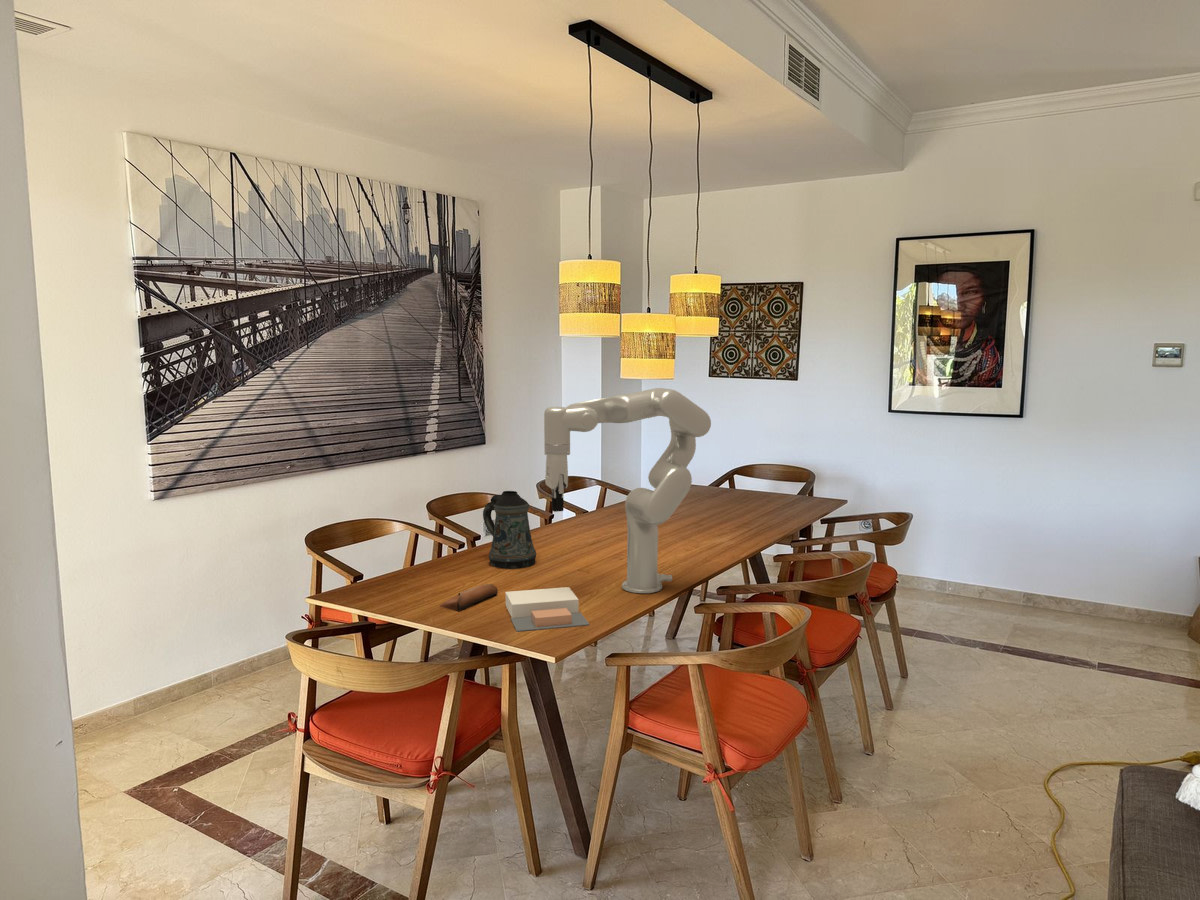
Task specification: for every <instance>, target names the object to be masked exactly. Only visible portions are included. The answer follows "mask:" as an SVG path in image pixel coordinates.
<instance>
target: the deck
mask: <svg viewBox="0 0 1200 900" xmlns="http://www.w3.org/2000/svg"><path fill="white" fill-rule="evenodd" d="M579 600H580V599H579V598H578V597H577V596H576V594H575V593H574V591H572V589H571V588H570V587H569V586H568V587H566V586H565V587H553V588H540V589H539V588H538V589H537V588H536V589H525V590H524V589H523V590H514V591H513V590H512V591H505V607H506V609H507V610H508V613H509V615H510V616H511V618H520V617H531V611H537V610H549V609H560V608H567V609H568V611H569V612H570V613H579V602H580V601H579Z"/></svg>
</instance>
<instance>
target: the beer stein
mask: <svg viewBox="0 0 1200 900" xmlns="http://www.w3.org/2000/svg"><path fill="white" fill-rule="evenodd" d="M529 510H530V503H529V502H528V501H527V500H526V499H524V498H523V497H521V496H520V494H518V491H515V490H503V491H502V493H501V494H495V495H493V496H492V497H491V499H490V501H489V502H487V503H486V504H485V505H484V508H483V511H482V517H483V522H484V525H485V527H486V529H487V530H488V532H489V533H490V535H491V536H492V541H491V547H490V549H489V553H488V559H489V564H490V566H492V567H493V568H496V569H504V570H517V569H518V570H520V569H526V568H530V567H533V566H534V565H535V564H536V558H537V557H536V556H537V552H536V549H535V546H534V543H533V539H532V534H531V528H530V523H529V515H528V512H529ZM492 511H494V512H495V519H494V521H493V519H492Z"/></svg>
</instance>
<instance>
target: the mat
mask: <svg viewBox="0 0 1200 900" xmlns="http://www.w3.org/2000/svg"><path fill="white" fill-rule="evenodd" d="M571 615H572V624H564V625H553V626H542V627H535V625H534V623H533V622H532V620H531V617H520V618H512V617H511V618H510V621H511V623H512V624H513V626H514V628H515V631H516V632H518V633H519V632H520V633H521V632H529V631H538V630H539V631H541V630H542V631H543V630H550V629H551V630H553V629H562V628H572V627H573V628H574V627H584V626H587V627H588V626H591V625H590V623H589V620H587V618H586V617H585V616H584V615H583V614H582V612H579V611H578V613H571Z"/></svg>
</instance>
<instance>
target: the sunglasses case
mask: <svg viewBox="0 0 1200 900" xmlns="http://www.w3.org/2000/svg"><path fill="white" fill-rule="evenodd" d="M498 593H499V591H498V587H497V586H496V585H495V584H493V583H485V584H479V585H476V586H474V587H471V588H469V589H465V590H462V591H461V592H458V594H457V595H455V596H453V597H451V598H449V599H447V600H446V601H444V602H443V603H441V604H439V606H440V607H439V608H443V609H447V610H451V611H454V612H455V611H456V612H460V611H463V610H464V609H466V608H469V607H470V606H471V605H474V604H475V603H477V602H481V601H482V600H484V599H488V598H489V597H492V596H497V595H498Z"/></svg>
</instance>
